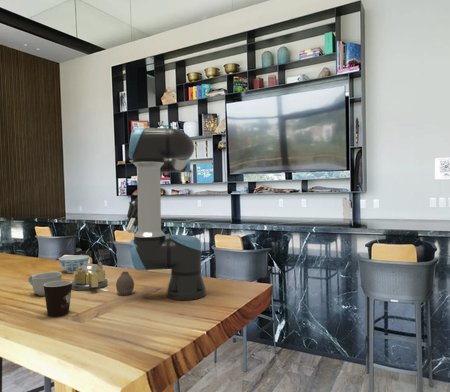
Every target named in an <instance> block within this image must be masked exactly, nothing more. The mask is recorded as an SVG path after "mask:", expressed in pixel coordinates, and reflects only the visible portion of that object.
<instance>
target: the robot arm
mask: <svg viewBox="0 0 450 392" xmlns="http://www.w3.org/2000/svg"><path fill="white" fill-rule="evenodd" d="M194 151H195V143H194V141H193V139H192V138H191V137H190V136H189V135H188V134H187V133H186V132H184V131H182V130H180V129H177V128H170V127H169V128H165V127H146V126H145V127H135V128H134V129H132V131H131V133H130V139H129V145H128V157H129V159H131V160H132V164H133V165H134V167H136V169H137V171H136V172H137V174H136V175H137V180H136V181H137V194H136V198H135V199H134V200H133V201H128V203H129V204H128V205H129V207H128V211H127V213H126V214H127V215H126V217H127V218H128V222H127V227H126V228H125V229H126V231H127V233H129V234H133V233H134V230H135V229H136V227H137V231H136V233H135V234H134V236H133V239H131V240H130V241H129V247H130V249H129V250H130V256H131V257H130V258H131V263H132V266H133V268H134V269H135V270H136V271H146V272H147V271H155V270H156V271H157V270H170V273H171V274H170V279H169V282H168V285H167V289H166V297H167V298H168V299H170V300H175V301H191V300H193V299H194V300H198V299H197V298H199V299H202V298H204V297H205V296H207V289H206V288H207V287H206V285H205V283H204V279H203V276H202V258H201V257H202V253H201V251H202V246H201V240H200V239H199V237H196V236H192V235H187V234H186V235H185V234H171V235H170V238H166V234H165V232H164V231H162V213H161V212H162V211H161V207H162V206H161V204H162V202H161V200H162V199H161V179H162V177H163V173H189V172H190V171H191V157H192V156H193V154H194ZM203 296H204V297H203ZM201 297H202V298H201Z"/></svg>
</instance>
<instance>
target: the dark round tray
mask: <svg viewBox="0 0 450 392" xmlns="http://www.w3.org/2000/svg"><path fill="white" fill-rule="evenodd" d="M82 270H83V271H85V273H86V274H87V273H88V271H95V272H97V264H87V265H84V266H82ZM108 283H109V282H108V279H106V278H105V280H103V281H101V282H98V287H91V286H90V285H89V284H76V283H75V282H74V281H72V290H71V291H75V292H76V291H77V292H88V291H95V290H99V289H105V288H106V287H107V286H108Z"/></svg>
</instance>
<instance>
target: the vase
mask: <svg viewBox="0 0 450 392" xmlns="http://www.w3.org/2000/svg"><path fill="white" fill-rule="evenodd" d="M115 283H116V284H115V287H116V293H118V294H119V295H120V296H128V295H131V294H132V293H133V291H134V288H135V281H134V278H133V277H132V276H131V275H130V273H129V271H127V270H126V271H122V272H121V273H120V276H119V277H118V278H117V280H116V282H115Z"/></svg>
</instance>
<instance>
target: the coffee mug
mask: <svg viewBox="0 0 450 392" xmlns="http://www.w3.org/2000/svg"><path fill="white" fill-rule="evenodd" d="M72 282H73V281H71V280H62V281H54V282H49V283H46V284H44V292H45V296H44V299H45V306H46V313H47V317H50V318H58V317H64V316H66V315H69V314H70V306H71V305H70V304H71V296H72V291H73V290H72Z"/></svg>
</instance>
